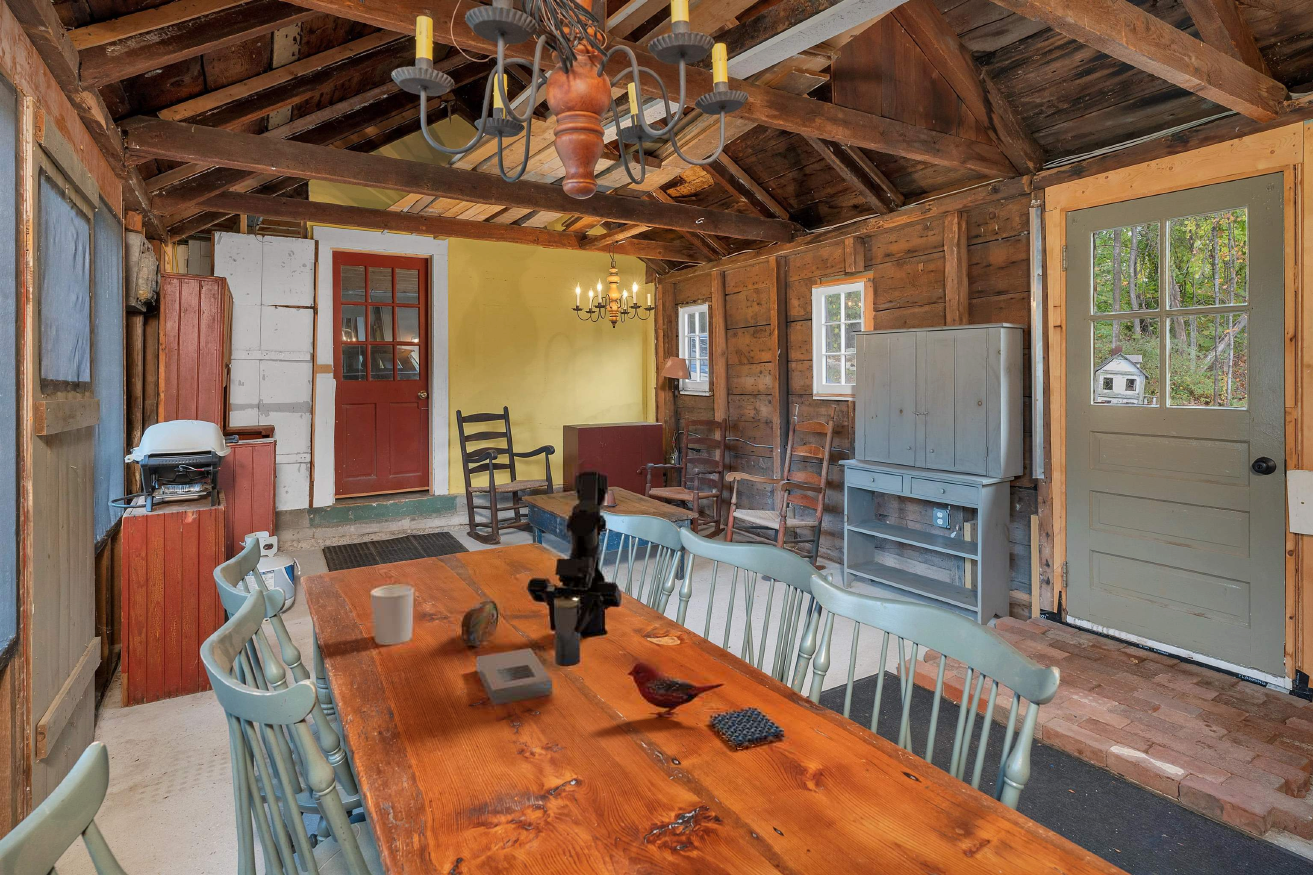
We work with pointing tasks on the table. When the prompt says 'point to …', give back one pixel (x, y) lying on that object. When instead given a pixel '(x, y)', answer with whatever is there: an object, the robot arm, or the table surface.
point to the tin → (479, 623)
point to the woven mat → (747, 728)
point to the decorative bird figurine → (665, 688)
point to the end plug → (566, 629)
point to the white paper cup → (392, 613)
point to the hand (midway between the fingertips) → (564, 631)
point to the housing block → (513, 676)
